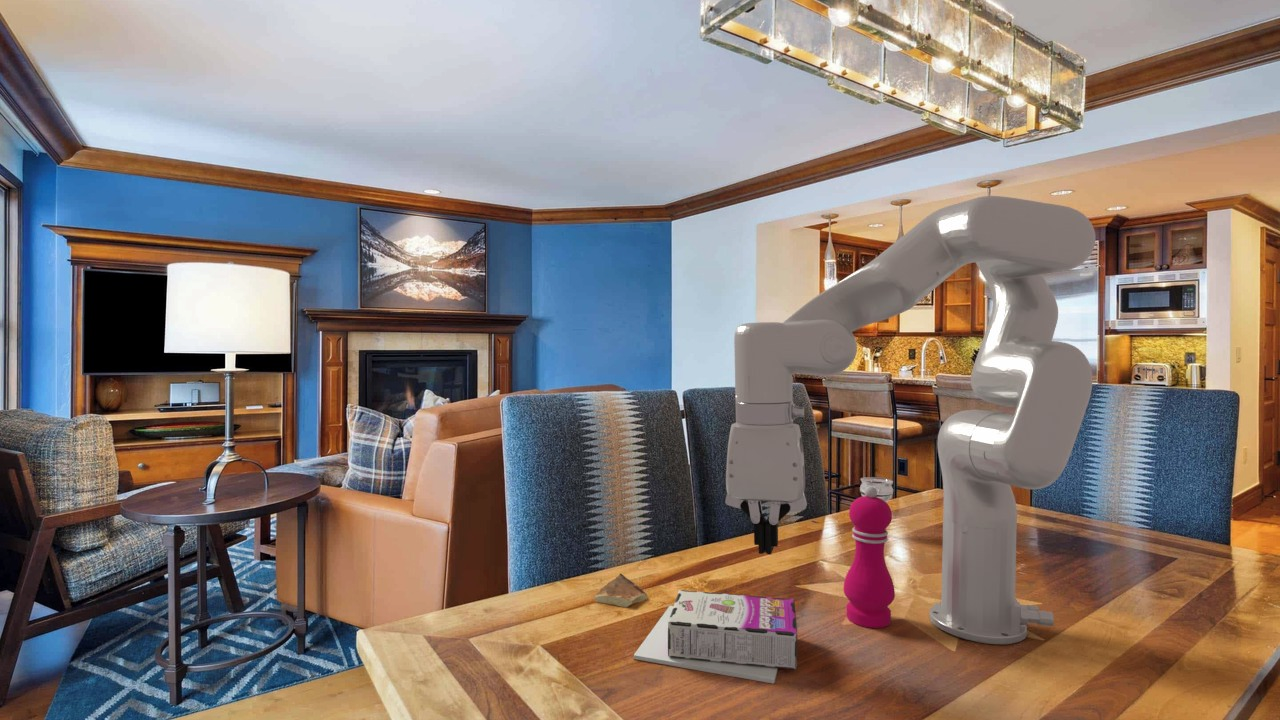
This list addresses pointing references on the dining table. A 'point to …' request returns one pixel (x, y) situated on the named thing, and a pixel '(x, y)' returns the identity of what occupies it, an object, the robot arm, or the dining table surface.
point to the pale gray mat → (658, 653)
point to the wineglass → (878, 487)
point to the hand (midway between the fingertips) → (766, 550)
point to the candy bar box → (733, 629)
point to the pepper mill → (869, 563)
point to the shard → (620, 592)
